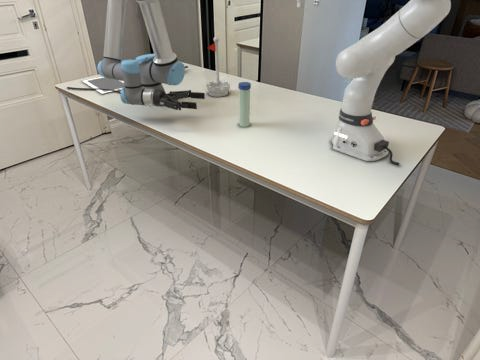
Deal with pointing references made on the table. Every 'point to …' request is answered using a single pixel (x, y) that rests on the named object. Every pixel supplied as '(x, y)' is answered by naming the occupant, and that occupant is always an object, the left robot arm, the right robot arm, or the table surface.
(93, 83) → the tablet
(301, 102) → the table surface
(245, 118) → the pale green cylinder
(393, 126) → the table surface
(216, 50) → the flag stand
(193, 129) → the table surface
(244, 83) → the lid
